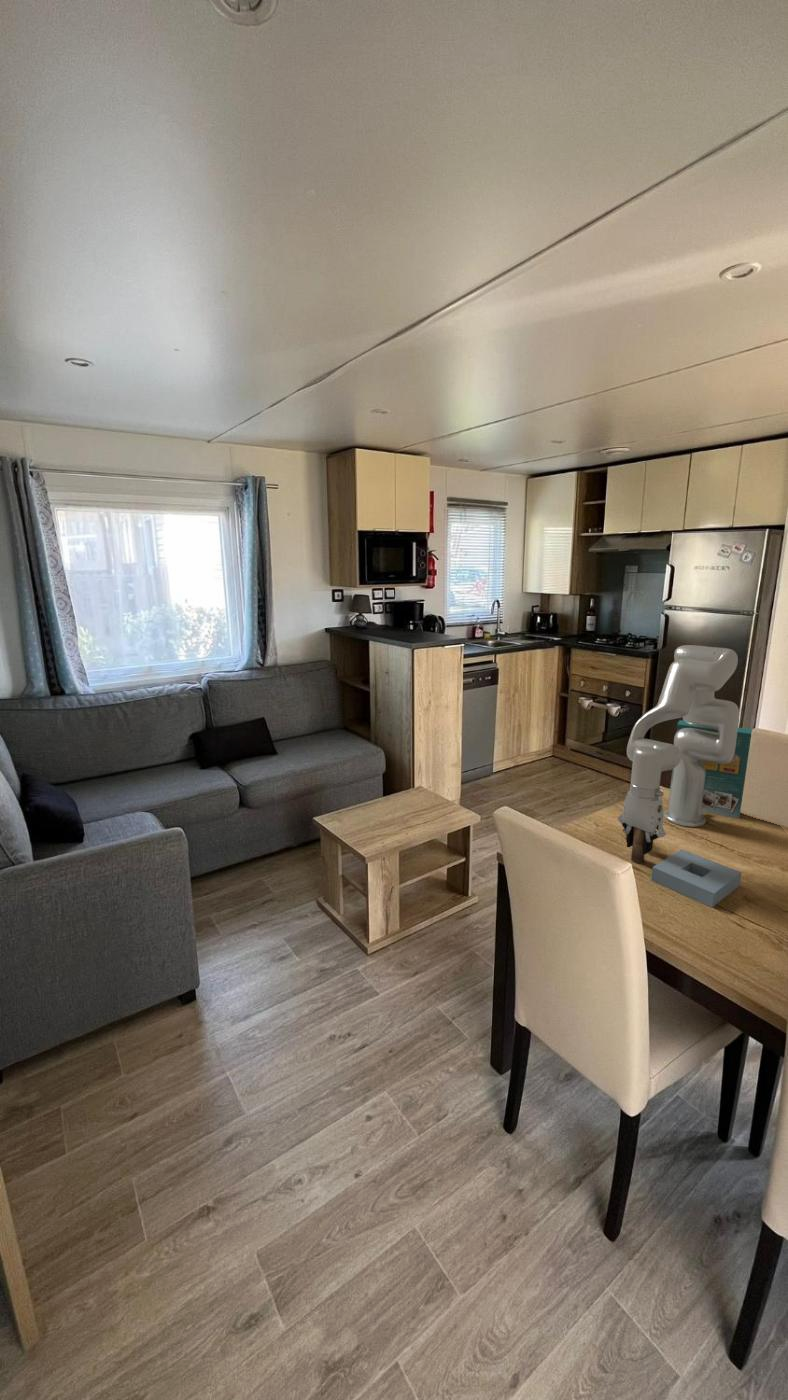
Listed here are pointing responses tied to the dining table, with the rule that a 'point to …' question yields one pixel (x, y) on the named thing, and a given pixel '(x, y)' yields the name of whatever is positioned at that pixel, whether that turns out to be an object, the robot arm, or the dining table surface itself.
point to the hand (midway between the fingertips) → (638, 848)
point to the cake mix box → (724, 776)
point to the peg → (638, 846)
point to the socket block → (696, 877)
